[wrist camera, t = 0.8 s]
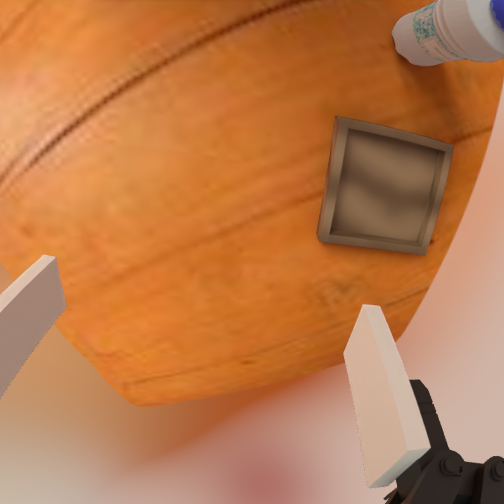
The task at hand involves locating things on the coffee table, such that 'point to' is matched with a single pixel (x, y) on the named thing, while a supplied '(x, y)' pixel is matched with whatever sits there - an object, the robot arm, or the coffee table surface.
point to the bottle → (452, 32)
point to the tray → (382, 187)
